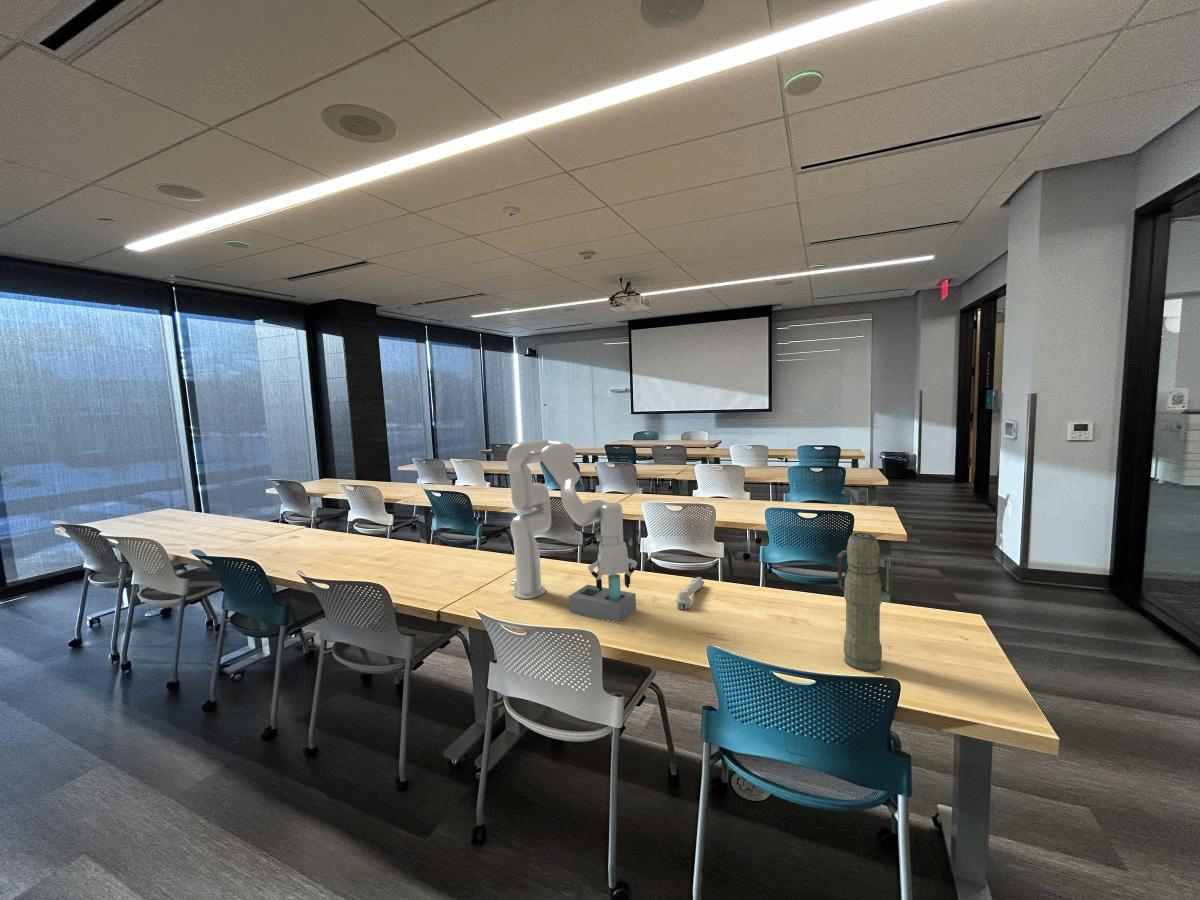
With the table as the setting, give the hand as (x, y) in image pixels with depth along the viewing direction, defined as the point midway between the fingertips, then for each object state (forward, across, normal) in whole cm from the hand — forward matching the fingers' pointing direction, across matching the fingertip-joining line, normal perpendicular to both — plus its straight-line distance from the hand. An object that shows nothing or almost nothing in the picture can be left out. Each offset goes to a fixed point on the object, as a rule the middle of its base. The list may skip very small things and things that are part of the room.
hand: (613, 587), depth 166 cm
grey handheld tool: (+10, +31, +5) cm, 33 cm away
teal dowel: (+8, 0, 0) cm, 8 cm away
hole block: (+9, -3, +3) cm, 10 cm away
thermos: (+8, +55, -52) cm, 76 cm away
